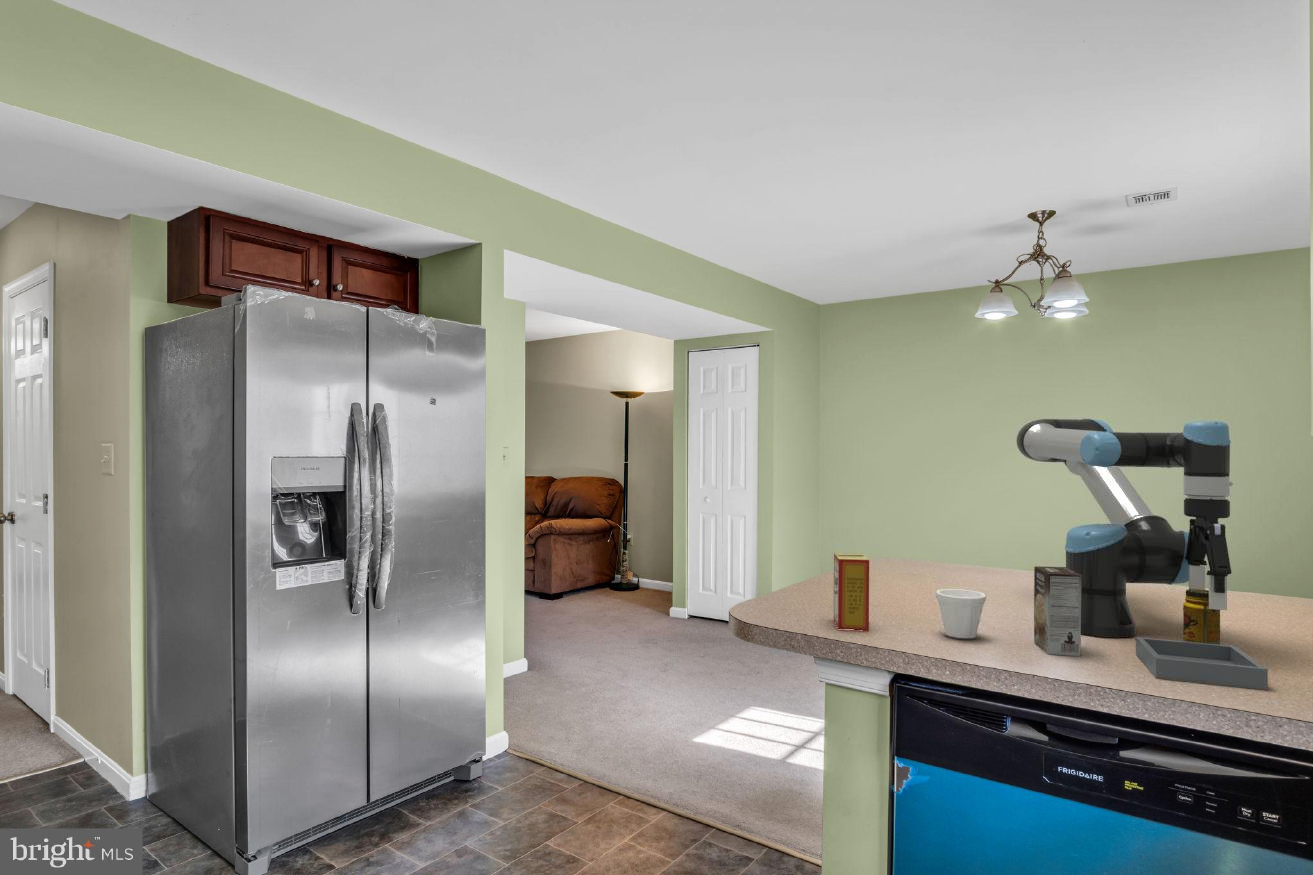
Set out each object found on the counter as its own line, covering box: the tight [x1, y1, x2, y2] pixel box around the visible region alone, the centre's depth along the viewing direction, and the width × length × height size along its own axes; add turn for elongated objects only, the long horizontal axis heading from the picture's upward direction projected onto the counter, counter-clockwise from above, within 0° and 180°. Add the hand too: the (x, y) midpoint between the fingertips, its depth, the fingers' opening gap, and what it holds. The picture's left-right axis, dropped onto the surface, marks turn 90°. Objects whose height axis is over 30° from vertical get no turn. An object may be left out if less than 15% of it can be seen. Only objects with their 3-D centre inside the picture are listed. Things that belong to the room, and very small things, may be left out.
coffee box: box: [1033, 566, 1082, 657], centre depth 150 cm, size 9×6×16 cm
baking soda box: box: [833, 552, 870, 632], centre depth 168 cm, size 10×6×16 cm
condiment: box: [1182, 588, 1221, 645], centre depth 150 cm, size 7×8×12 cm
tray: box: [1135, 636, 1269, 691], centre depth 136 cm, size 16×16×4 cm
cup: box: [935, 588, 987, 641], centre depth 159 cm, size 10×10×9 cm
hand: (1207, 603), depth 150 cm, fingers open, 13 cm apart
